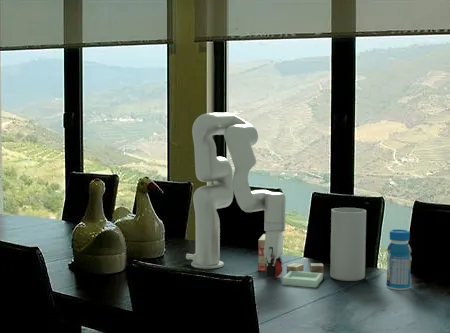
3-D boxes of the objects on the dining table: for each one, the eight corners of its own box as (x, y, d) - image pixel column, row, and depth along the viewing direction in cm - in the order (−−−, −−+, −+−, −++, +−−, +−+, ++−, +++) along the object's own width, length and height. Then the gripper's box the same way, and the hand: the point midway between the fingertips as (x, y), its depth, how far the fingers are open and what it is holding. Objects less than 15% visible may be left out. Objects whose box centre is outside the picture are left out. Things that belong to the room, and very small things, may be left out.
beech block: (286, 276, 267) (286, 265, 266) (293, 273, 272) (293, 263, 271) (296, 277, 265) (296, 267, 264) (303, 274, 270) (303, 264, 269)
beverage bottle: (396, 291, 245) (398, 233, 243) (380, 286, 253) (382, 229, 251) (415, 289, 249) (417, 231, 247) (399, 283, 256) (401, 228, 255)
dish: (282, 284, 254) (282, 277, 254) (290, 277, 265) (290, 270, 265) (316, 287, 250) (316, 280, 250) (322, 279, 261) (322, 273, 261)
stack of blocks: (265, 259, 296) (266, 229, 295) (281, 260, 295) (281, 230, 294) (257, 271, 275) (258, 239, 274) (274, 271, 274) (274, 239, 273)
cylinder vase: (368, 275, 268) (369, 209, 266) (359, 283, 257) (361, 213, 255) (335, 272, 273) (337, 207, 271) (326, 279, 262) (327, 211, 260)
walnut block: (311, 278, 265) (311, 265, 264) (310, 275, 269) (310, 263, 269) (323, 278, 264) (323, 266, 264) (322, 275, 269) (322, 263, 268)
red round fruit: (265, 276, 265) (265, 255, 264) (280, 276, 266) (280, 255, 265) (267, 280, 259) (267, 258, 259) (283, 280, 260) (283, 258, 259)
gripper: (270, 222, 270) (270, 268, 272) (258, 229, 254) (257, 278, 255) (290, 223, 268) (289, 269, 269) (279, 231, 251) (278, 280, 253)
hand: (274, 273), depth 262 cm, fingers open, 8 cm apart
